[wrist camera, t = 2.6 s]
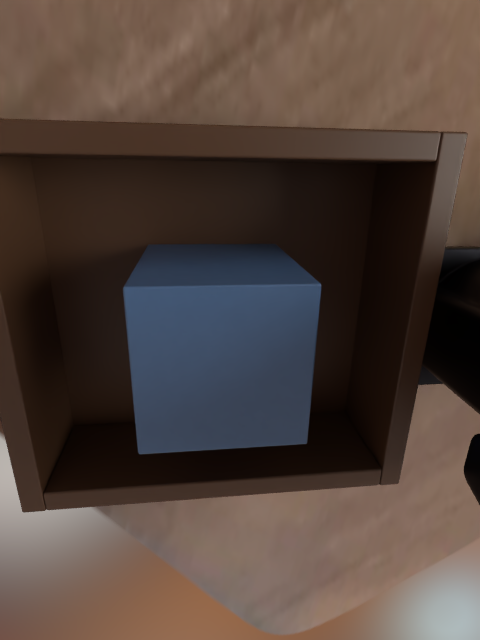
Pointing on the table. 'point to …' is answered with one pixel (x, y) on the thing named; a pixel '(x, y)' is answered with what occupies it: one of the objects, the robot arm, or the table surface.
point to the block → (220, 347)
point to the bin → (212, 228)
